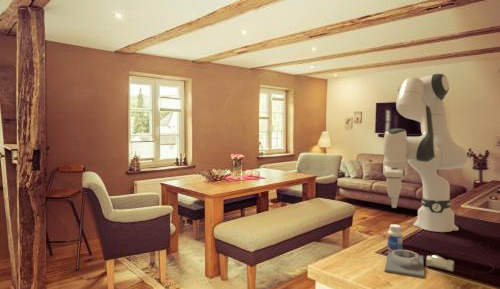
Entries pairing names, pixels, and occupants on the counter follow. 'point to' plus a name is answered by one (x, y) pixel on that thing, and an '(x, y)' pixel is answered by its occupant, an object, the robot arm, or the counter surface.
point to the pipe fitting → (440, 263)
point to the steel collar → (404, 258)
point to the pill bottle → (394, 237)
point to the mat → (412, 271)
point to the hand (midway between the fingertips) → (394, 204)
